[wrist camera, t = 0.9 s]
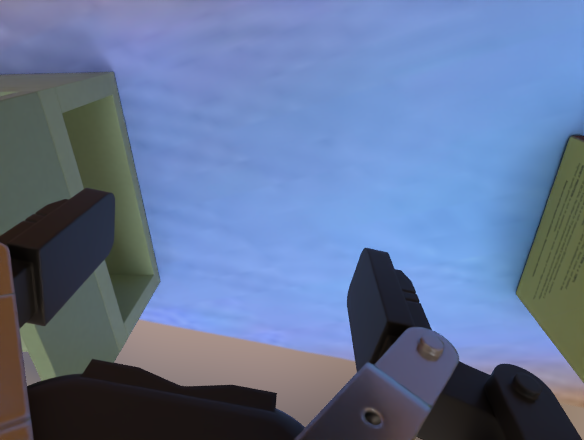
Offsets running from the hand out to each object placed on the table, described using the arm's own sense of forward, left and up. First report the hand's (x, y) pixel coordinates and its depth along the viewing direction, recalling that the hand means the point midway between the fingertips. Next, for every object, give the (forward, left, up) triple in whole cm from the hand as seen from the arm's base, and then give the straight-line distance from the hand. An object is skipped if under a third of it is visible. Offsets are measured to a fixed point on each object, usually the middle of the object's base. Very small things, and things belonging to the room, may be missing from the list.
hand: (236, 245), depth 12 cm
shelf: (+6, -17, -19) cm, 26 cm away
